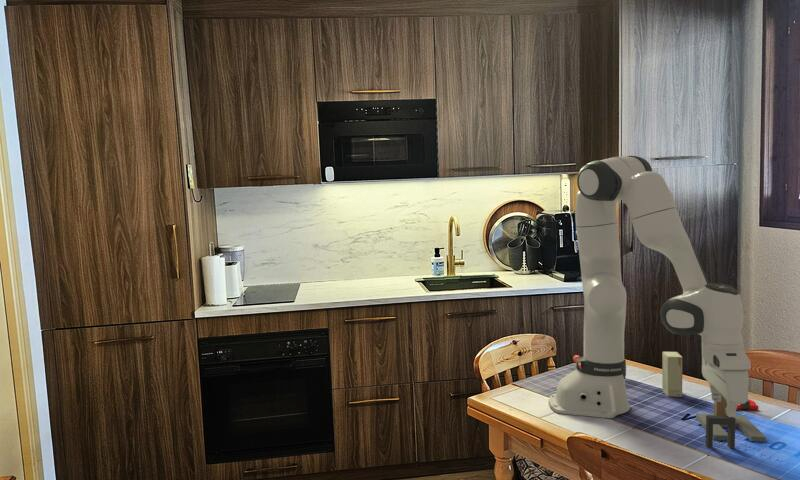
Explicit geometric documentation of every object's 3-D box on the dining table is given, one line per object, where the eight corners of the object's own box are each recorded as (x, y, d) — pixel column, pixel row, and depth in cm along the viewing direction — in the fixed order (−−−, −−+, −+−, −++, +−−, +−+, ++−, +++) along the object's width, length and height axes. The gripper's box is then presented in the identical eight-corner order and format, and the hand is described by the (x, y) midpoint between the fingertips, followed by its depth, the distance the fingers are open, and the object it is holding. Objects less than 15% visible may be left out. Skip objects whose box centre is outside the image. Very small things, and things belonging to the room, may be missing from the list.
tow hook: (717, 400, 179) (729, 410, 170) (718, 356, 179) (730, 364, 170) (748, 400, 178) (762, 411, 169) (748, 357, 177) (762, 365, 168)
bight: (708, 447, 148) (708, 418, 147) (705, 444, 149) (706, 415, 149) (734, 448, 147) (735, 418, 146) (731, 445, 148) (732, 416, 148)
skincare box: (682, 397, 181) (683, 357, 180) (667, 397, 182) (667, 357, 180) (676, 390, 187) (677, 351, 186) (661, 389, 188) (662, 350, 187)
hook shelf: (714, 439, 152) (715, 390, 151) (695, 417, 166) (696, 372, 164) (766, 441, 150) (767, 391, 149) (743, 419, 164) (744, 373, 163)
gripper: (694, 341, 156) (695, 393, 157) (723, 365, 136) (724, 425, 137) (721, 340, 155) (721, 393, 156) (754, 364, 135) (754, 425, 136)
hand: (723, 408), depth 146 cm, fingers open, 8 cm apart
